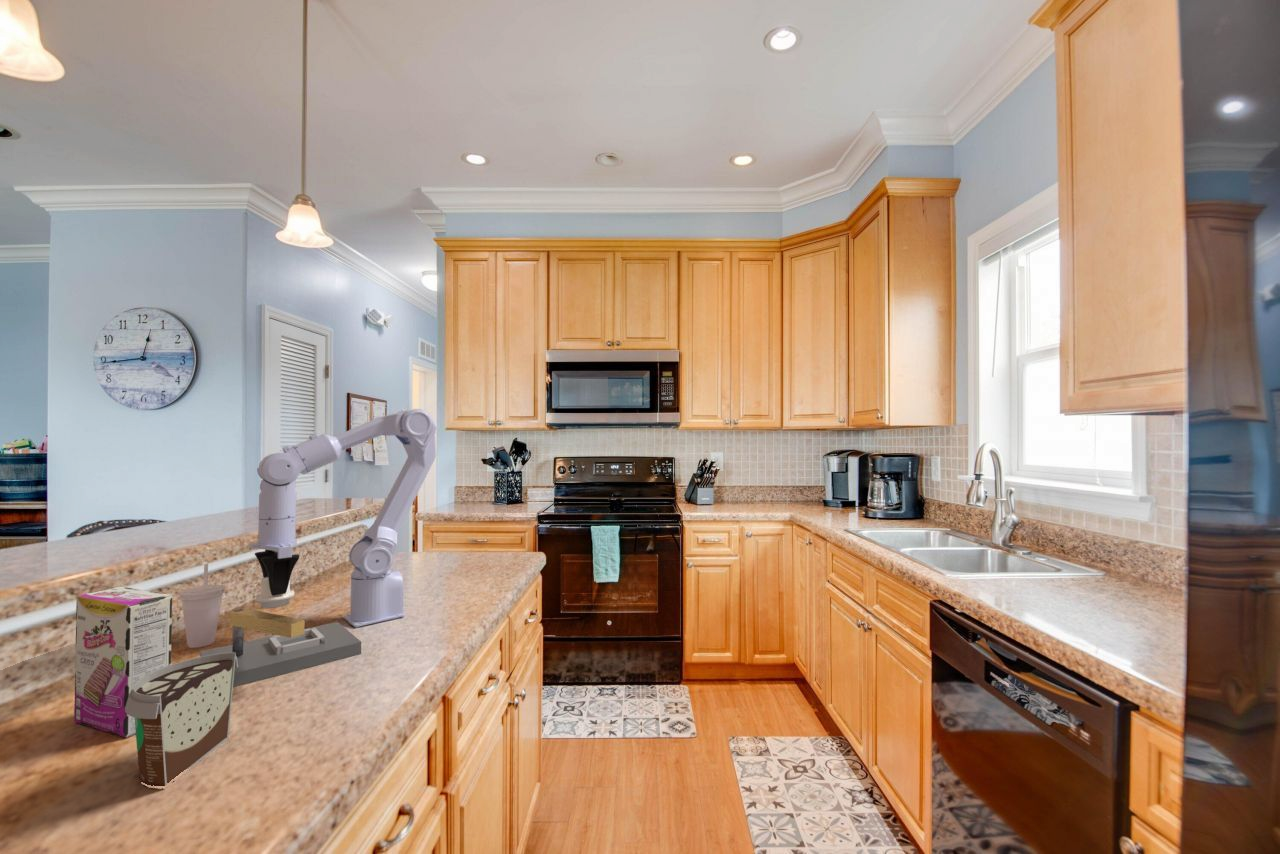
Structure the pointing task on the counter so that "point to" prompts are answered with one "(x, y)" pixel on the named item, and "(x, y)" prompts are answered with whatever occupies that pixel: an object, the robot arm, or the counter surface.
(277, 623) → the tan l-shaped bar
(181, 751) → the food container
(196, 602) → the smoothie
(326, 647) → the socket block
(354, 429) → the robot arm
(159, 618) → the candy bar box
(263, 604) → the plug
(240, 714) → the counter surface
